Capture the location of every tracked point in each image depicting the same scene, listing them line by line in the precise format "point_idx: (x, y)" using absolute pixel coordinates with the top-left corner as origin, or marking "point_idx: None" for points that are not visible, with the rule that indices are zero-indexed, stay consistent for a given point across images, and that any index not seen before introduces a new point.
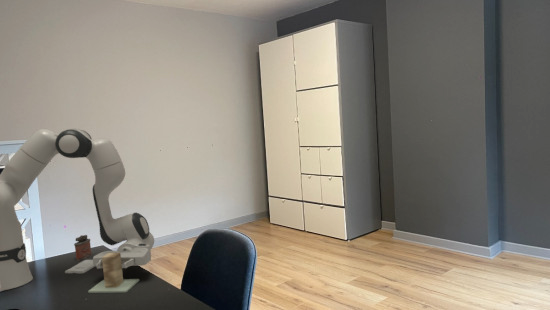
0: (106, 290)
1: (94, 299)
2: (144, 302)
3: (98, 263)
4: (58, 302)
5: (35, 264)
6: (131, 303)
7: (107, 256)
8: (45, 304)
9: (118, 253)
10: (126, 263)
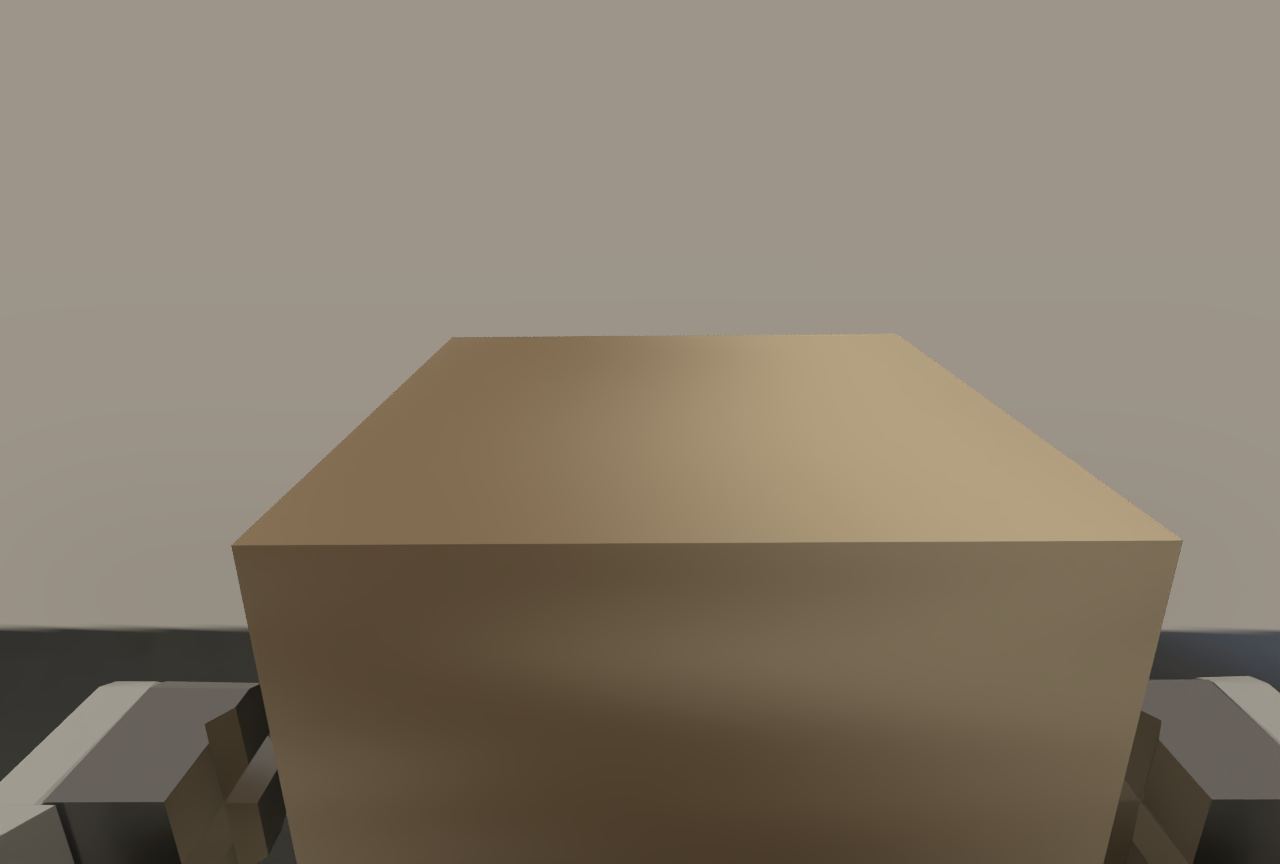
0: None
1: None
2: (46, 670)
3: (1239, 699)
4: (1152, 676)
5: None
6: (205, 656)
7: (742, 354)
8: (1253, 644)
9: (349, 487)
10: (69, 746)
